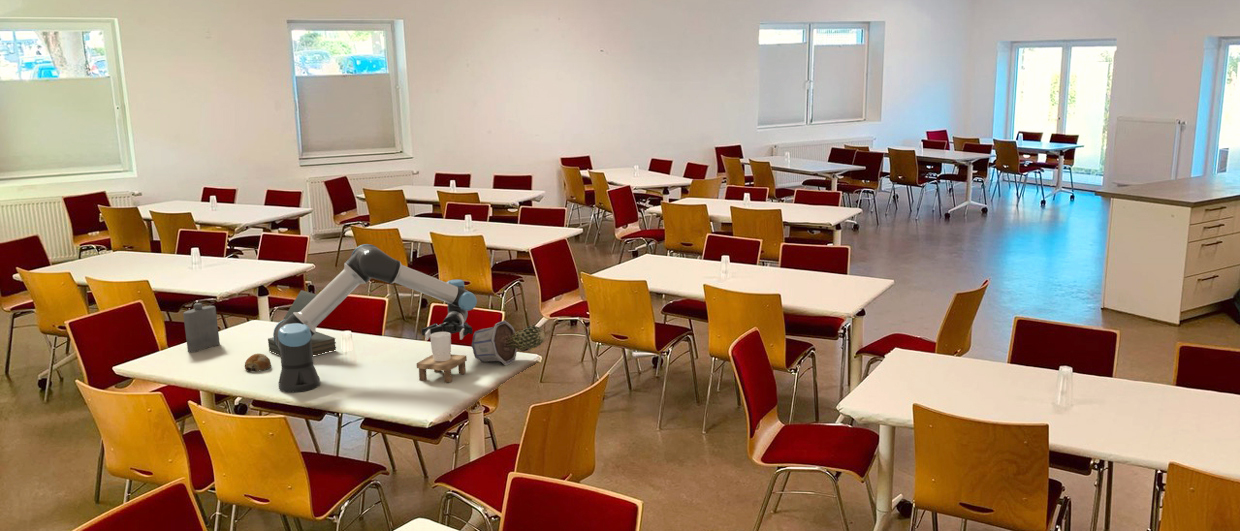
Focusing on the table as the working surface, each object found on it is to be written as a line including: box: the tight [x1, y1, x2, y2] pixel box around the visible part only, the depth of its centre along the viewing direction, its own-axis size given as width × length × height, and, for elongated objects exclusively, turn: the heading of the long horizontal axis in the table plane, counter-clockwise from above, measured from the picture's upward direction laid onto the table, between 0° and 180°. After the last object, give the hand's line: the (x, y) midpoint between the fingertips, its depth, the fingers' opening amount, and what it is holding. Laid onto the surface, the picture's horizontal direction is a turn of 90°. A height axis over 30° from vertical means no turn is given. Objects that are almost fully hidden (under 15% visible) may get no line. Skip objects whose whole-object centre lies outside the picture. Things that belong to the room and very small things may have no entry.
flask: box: [182, 302, 220, 353], centre depth 424 cm, size 15×6×20 cm, turn 149°
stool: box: [416, 354, 467, 384], centre depth 375 cm, size 14×14×7 cm
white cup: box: [429, 332, 452, 362], centre depth 373 cm, size 8×8×10 cm
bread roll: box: [244, 353, 272, 372], centre depth 393 cm, size 10×10×8 cm
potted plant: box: [471, 319, 546, 366], centre depth 389 cm, size 18×18×30 cm
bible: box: [267, 289, 337, 356], centre depth 414 cm, size 23×20×25 cm
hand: (443, 336), depth 377 cm, fingers open, 13 cm apart
